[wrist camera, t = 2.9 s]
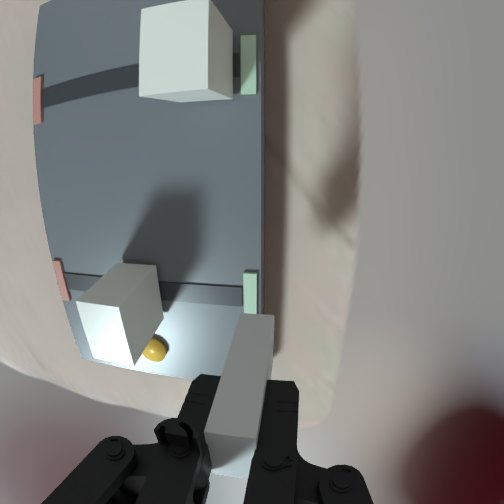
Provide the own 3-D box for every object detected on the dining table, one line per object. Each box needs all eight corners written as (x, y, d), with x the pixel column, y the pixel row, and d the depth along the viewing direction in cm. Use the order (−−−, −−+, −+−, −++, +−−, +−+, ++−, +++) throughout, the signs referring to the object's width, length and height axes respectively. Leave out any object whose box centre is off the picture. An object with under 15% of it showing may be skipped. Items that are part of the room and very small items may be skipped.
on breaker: (181, 36, 13) (141, 8, 8) (232, 30, 12) (208, -3, 8) (181, 102, 14) (138, 96, 10) (232, 99, 14) (208, 88, 9)
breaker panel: (57, 11, 14) (36, 4, 12) (263, -35, 12) (258, -55, 10) (93, 343, 24) (79, 361, 21) (262, 367, 22) (258, 390, 20)
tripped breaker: (117, 262, 18) (75, 301, 13) (155, 265, 17) (118, 307, 13) (127, 313, 19) (93, 358, 15) (164, 318, 19) (134, 366, 14)
